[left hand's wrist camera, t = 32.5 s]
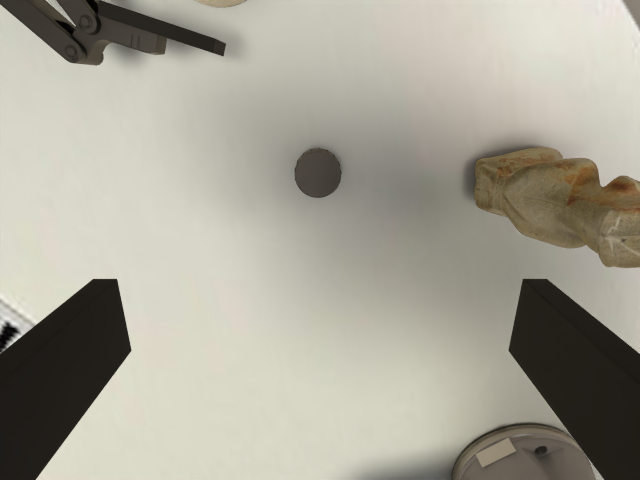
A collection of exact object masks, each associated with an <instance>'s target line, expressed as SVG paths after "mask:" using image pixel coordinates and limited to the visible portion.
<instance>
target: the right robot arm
mask: <svg viewBox="0 0 640 480" xmlns="http://www.w3.org/2000/svg"><path fill="white" fill-rule="evenodd" d="M57 2H58V3H59V4H60V6H61V7H62V8H63V9H64V11H65V12H66V13H67V15H68V16H69V17H70V18H71V20H72V21H73V22H74V24H75V25H76V27H75V26H74V25H73V24H72V23H71V22H69V21H68V20H67V19H66V18H65V17H64V16H63V15H61V14H60V13H59V12H58V11H57V10H56V9H55V8H53V7H52V6H51V5H50V4H49V3H48V2H47V1H46V0H0V4H1V5H2V6H3V7H4V8H5V9H7V10H8V11H9V12H10V13H11V14H12V15H14V16H15V17H16V18H17V19H18V20H19V21H21V22H22V23H23V24H24V25H25V26H27V27H28V28H29V29H30V30H31V31H32V32H34V33H35V34H36V35H37V36H38V37H40V38H41V39H42V40H43V41H44V42H45V43H47V44H48V45H49V46H50V47H51V48H53V49H54V50H55V51H56V52H57V53H58V54H60V55H61V56H62V57H63V58H64V59H66V60H67V61H69V62H70V63H77V64H87V65H100V64H101V63H102V61H103V51H104V49H105V47H106V46H107V45H108V44H109V43H111V42H114V43H117V44H121V45H124V46H127V47H130V48H133V49H136V50H139V51H142V52H145V53H149V54H154V55H160V54H165V48H166V41H167V38H169V39H172V40H175V41H178V42H182V43H185V44H188V45H191V46H194V47H197V48H200V49H203V50H206V51H209V52H212V53H215V54H218V55H221V56H224V51H225V46H226V44H225V43H223V42H221V41H219V40H217V39H214V38H211V37H208V36H205V35H202V34H199V33H196V32H193V31H190V30H187V29H184V28H181V27H178V26H175V25H172V24H169V23H167V22H164V21H161V20H158V19H155V18H152V17H149V16H146V15H143V14H140V13H137V12H134V11H131V10H128V9H125V8H122V7H119V6H116V5H113V4H110V3H107V2H104V1H101V0H57Z"/></svg>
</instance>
